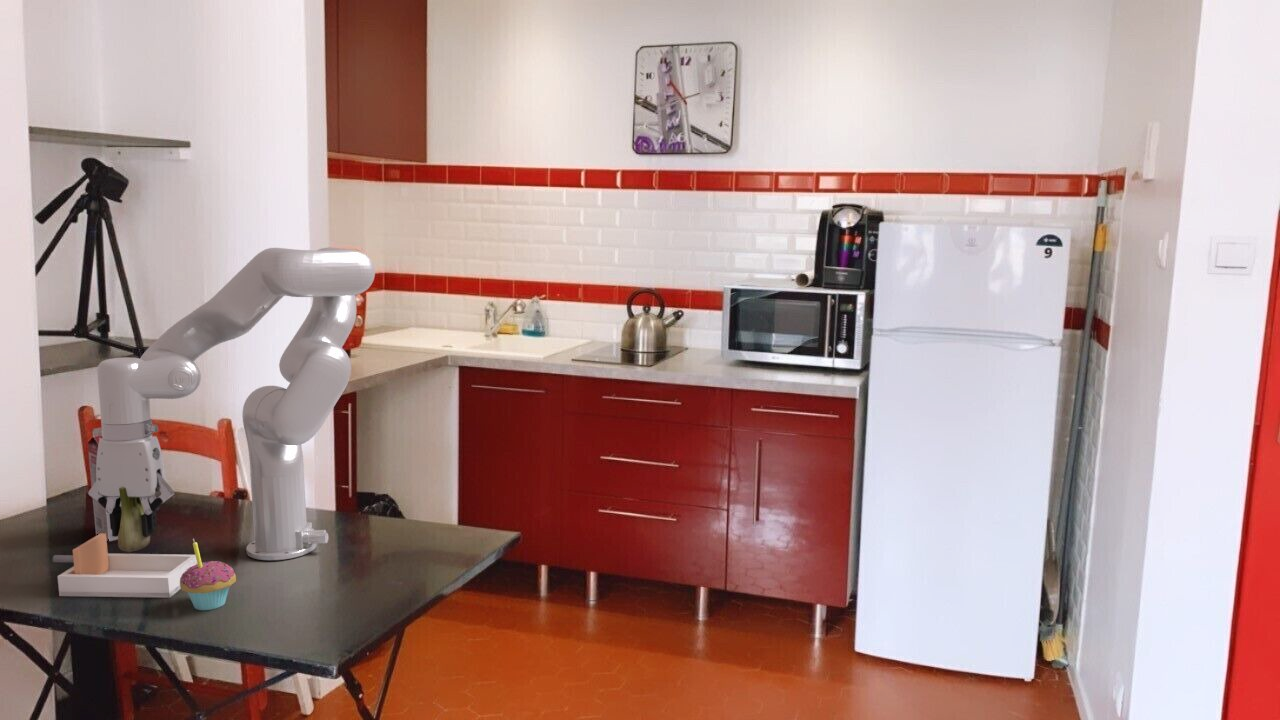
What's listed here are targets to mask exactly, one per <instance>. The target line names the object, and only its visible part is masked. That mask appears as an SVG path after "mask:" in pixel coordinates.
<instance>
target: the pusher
mask: <svg viewBox="0 0 1280 720" xmlns="http://www.w3.org/2000/svg"><path fill="white" fill-rule="evenodd" d="M108 554H109V552H108V542H107V540H106V533H100V534H99V535H97V534H96V535H95V536H93V537H92V538H90V539H88V540H87V541H85V542H84V543H82V544H80V545H78V546H77V547H75V548H73V549H72V555H70V554H65V555H64V554H63V555H62V554H54V555H53V556H52V562H53V563H73V566H74V570H75V574H90V575H101V574H102V573H104V572H105V571H107V570H108V569H109V562H108Z"/></svg>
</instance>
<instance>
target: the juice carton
mask: <svg viewBox="0 0 1280 720" xmlns="http://www.w3.org/2000/svg"><path fill="white" fill-rule="evenodd" d="M91 434H92V437H91V438H90V440H89V441H88V442H87V449H88V451H87V452H88V461H89V471H90V482H91V483H90V484H91V487H92V486H93V485H94V483H95V482H96V462H97V451H98V445H99V440H100V439H102V427H97V428H96V427H95V428H92V429H91ZM92 505H93V514H94V517H93V518H94V526H95V535H97V534H98V535H99V534H100V533H106V540H107V541H108V539H109V541H108V542H113V541H116V540H117V541H118V536H112V530H111V528H110V515H109V514H108V513H106V509H105V508H104V507H103V506H102V505H101V504H100V503H99V502H98V501H97V500H95V499H94V498H92Z"/></svg>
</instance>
